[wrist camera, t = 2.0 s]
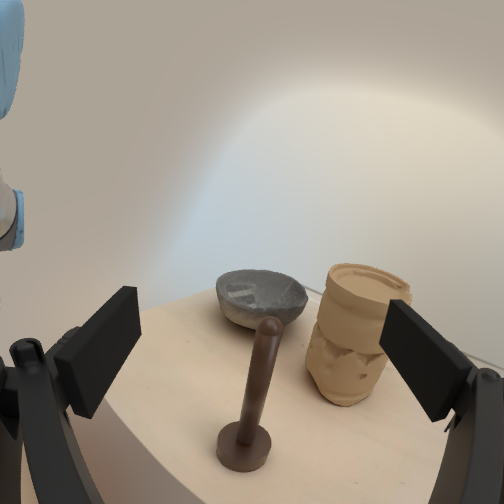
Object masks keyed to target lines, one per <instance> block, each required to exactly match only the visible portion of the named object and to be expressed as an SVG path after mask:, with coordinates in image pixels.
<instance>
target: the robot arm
mask: <svg viewBox="0 0 504 504" xmlns="http://www.w3.org/2000/svg"><path fill="white" fill-rule="evenodd" d="M23 37H24V8H23V4H22V1H21V0H0V119H2V118H4V117H5V116H6V115H7V113H8V111H9V109H10V107H11V105H12V102H13V99H14V95H15V91H16V86H17V81H18V75H19V69H20V55H21V52H22V48H23ZM23 242H24V201H23V193H22V191H21V190H12V189H11V188H10V187H9V186H8V185H7V184H6V183H4V182H3V178H2V174H1V169H0V251H6V250H9V251H11V250H13V249H16V248H20V247H21V246H22V244H23ZM140 336H141V326H140V317H139V307H138V298H137V287H130V286H123V287H122V288H121V289H120V290H118V292H116V293H115V294H114V295H113V296H112V297H111V298H110V299H109V300H108V301H107V302H106V303H105V304H104V305H103V306H102V307H101V308H100V309H99V310H98V311H97V312H96V313H95V314H94V315H93V316H92V317H91V318H90V319H89V320H88V321H87V322H86V323H85V324H84V325H83V326H82V327H78V326H77V327H75V328H73V329H71V330H69V331H68V332H66V333H65V334H64V335H63V336H62V339H61V338H60V339H59V340H58V341H57V344H56V343H55V344H54V345H53V346H52V347H51V348H50V349H49V350H48V351H47V352H46V353H45V354H44V352H43V349H42V345H41V343H40V341H38V340H37V339H34V338H24V339H21V340H18V341H16V342H15V343H13V344H12V345H11V347H10V350H9V351H10V354H11V357H12V359H13V362H14V365H15V367H6V366H5V365H4V362H3V360H2V358H1V357H0V504H21V491H20V490H21V458H22V457H21V456H22V445H23V442H24V447H25V452H26V457H27V462H28V465H29V471H30V474H31V479H32V482H33V486H34V489H35V493H36V496H37V499H38V502H39V504H104V502H103V500H102V498H101V496H100V494H99V492H98V490H97V488H96V486H95V484H94V482H93V479H92V477H91V475H90V473H89V470H88V468H87V466H86V463H85V461H84V459H83V456H82V454H81V451H80V449H79V446H78V443H77V440H76V438H75V435H74V432H73V429H72V426H71V423H70V420H69V417H68V414H67V412H66V409H67V407H68V406H69V404H70V405H71V407H72V410H73V412H74V414H76V415H79V416H82V417H85V418H88V419H92V417H93V415H94V413H95V411H96V409H97V408H98V406H99V404H100V403H101V401H102V399H103V397H104V396H105V394H106V392H107V391H108V389H109V387H110V385H111V384H112V382H113V380H114V379H115V377H116V375H117V374H118V372H119V370H120V369H121V367H122V365H123V364H124V362H125V360H126V359H127V357H128V355H129V354H130V352H131V350H132V349H133V347H134V346H135V344H136V342H137V341H138V339H139V338H140ZM379 345H380V346H381V348H382V349H383V350H384V352H385V353H386V355H387V356H388V358H389V359H390V360H391V362H392V363H393V365H394V366H395V368H396V369H397V370H398V372H399V373H400V375H401V376H402V378H403V379H404V381H405V382H406V384H407V385H408V387H409V388H410V389H411V391H412V392H413V394H414V395H415V397H416V398H417V400H418V401H419V403H420V404H421V406H422V408H423V409H424V411H425V412H426V414H427V415H428V417H429V418H430V420H431V421H432V422H436V421H439V420H442V419H445V418H446V417H447V415H448V413H449V412H450V410H451V408H452V409H453V410H454V411H455V414H454V416H453V418H452V419H451V421H450V422H449V424H448V426H447V427H446V429H445V431H444V432H447V430H448V429H449V428H450V430H449V435H448V439H447V444H446V448H445V452H444V456H443V459H442V463H441V467H440V470H439V473H438V477H437V480H436V483H435V486H434V489H433V492H432V494H431V497H430V500H429V503H428V504H504V378H501V376H500V375H499V374H498V373H497V372H496V371H494V370H492V369H489V368H480V369H478V368H477V367H476V366H475V365H474V364H473V363H472V362H471V361H470V360H469V359H468V358H467V357H466V356H465V355H464V354H463V353H462V352H461V351H459V349H458V348H457V347H456V346H455V345H454V344H452V343H451V342H449V341H447V340H446V339H445V338H443V337H442V336H441V335H440V334H439V333H438V332H437V331H436V330H435V329H434V328H433V327H432V326H431V325H430V324H429V323H427V322H426V321H425V320H424V319H423V318H422V317H421V316H420V315H418V313H416V312H415V311H414V310H413V309H412V308H411V307H410V306H409V305H408V304H406V303H405V302H404V301H403V300H402V299H390V302H389V306H388V310H387V314H386V318H385V322H384V326H383V329H382V333H381V336H380V340H379Z"/></svg>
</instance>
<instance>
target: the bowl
mask: <svg viewBox="0 0 504 504" xmlns="http://www.w3.org/2000/svg"><path fill="white" fill-rule="evenodd" d="M216 291H217V296H218V300H219V303H220V307H221V309H222V311H223V312H224V314H225V315H226V317H227V318H228V319H229V320H231V321H232V322H234V323H236V324H239V325H241V326H244V327H247V328H251V329H254V330H256V328H257V324H258V322H259V321H260V320H261V319H262V318H264V317H267V316H273V317H275V318H277V319H278V320H279V321H280V322H281V324H282V327H283V326H285V325H287V324H289V323H290V322H292V321H294V320H295V319H296V318H297V317H298V316H299V315H300V314H301V313H302V311H303V310H304V308H305V305H306V303H307V301H308V296H307V294H306V291H305V288H304V287H303V286H302V285H301V284H299V282H298V281H296V280H295V279H293V278H292V277H289V276H287V275H284V274H281V273H278V272H273V271H267V270H238V271H233V272H228V273H226V274H223V275H222V276H220V277H219V278H218V279H217V282H216Z"/></svg>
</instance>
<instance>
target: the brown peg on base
mask: <svg viewBox="0 0 504 504" xmlns="http://www.w3.org/2000/svg"><path fill="white" fill-rule="evenodd" d="M282 330H283V328H282V324H281V322H280V321H279V320H278V319H277V318H275V317H273V316H267V317H264V318H262V319H261V320H260V321H259V322H258V324H257V328H256V334H255V340H254V345H253V351H252V356H251V362H250V367H249V373H248V378H247V384H246V389H245V395H244V400H243V405H242V410H241V416H240V421H237V422H233V423H230V424H228V425H226V426H225V427H224V428H223V429H222V430H221V431H220V433H219V435H218V442H217V456H218V459H219V460H220V462H221V463H222V464H223V465H224V466H225V467H227V468H229V469H231V470H233V471H237V472H250V471H254V470H256V469H258V468H260V467H261V466H262V465H263V464H264V463H265V461H266V459H267V456H268V453H269V451H270V448H271V438H270V436H269V434H268V432H267V431H266V430H265V429H264V428H263V427H261V426H259V422H260V418H261V414H262V411H263V407H264V403H265V400H266V396H267V392H268V388H269V384H270V380H271V376H272V372H273V368H274V364H275V360H276V356H277V352H278V348H279V344H280V339H281V335H282Z"/></svg>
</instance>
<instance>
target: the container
mask: <svg viewBox="0 0 504 504" xmlns="http://www.w3.org/2000/svg"><path fill="white" fill-rule="evenodd" d="M409 288H410V286H409V285H408V284H407V283H406V282H405V281H403V280H402V279H400V278H399V277H397V276H395V275H393V274H391V273H389V272H386V271H383V270H380V269H377V268H373V267H370V266H366V265H359V264H349V263H344V264H337V265H334V266H333V267H331V268H330V270H329V272H328V276H327V280H326V290H325V291H324V293H323V296H322V299H321V303H320V307H319V311H318V315H317V322H316V324H315V325H314V328H313V332H312V336H311V339H310V343H309V346H308V350H307V353H306V359H305V363H306V366H307V368H308V370H309V372H310V373H311V375H312V376H313V378H314V380H315V382H316V384H317V386H318V388H319V391H320V393H321V394H322V395H324V397H325V398H327V399H328V400H329V401H332V402H333V403H334V404H339V405H341V406H342V407H346V406H352V405H353V404H354V403H356V402H358V401H360V400H362V399H364V398H365V397H367V396H368V395H370V394H371V392H372V390H373V388H374V386H375V384H376V382H377V380H378V379H379V377H380V375H381V373H382V371H383V369H384V367H385V364H386V362H387V360H388V356H387V355H386V353H385V352H384V350H383V349H382V348H381V346H380V345H379V340H380V336H381V333H382V329H383V326H384V322H385V318H386V314H387V310H388V306H389V302H390V299H402V300H403V301H404V302H405V303H406V304H408V305H409V306H410V305H411V301H412V295H411V294H410V290H409Z"/></svg>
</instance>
